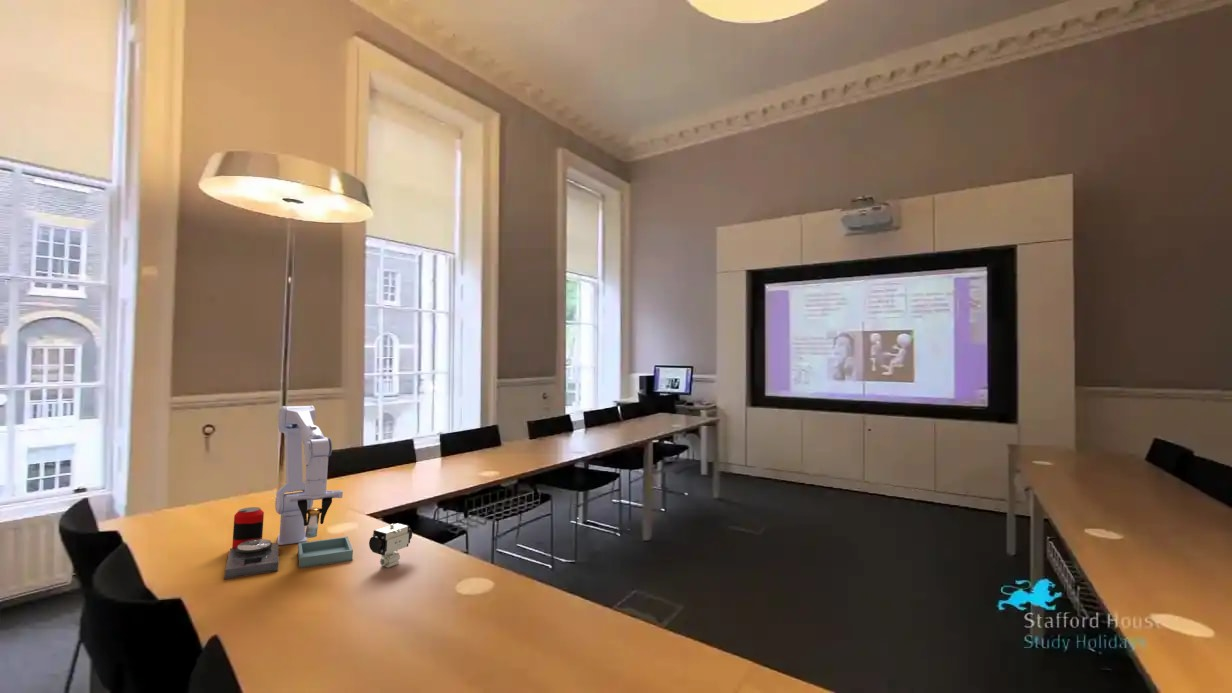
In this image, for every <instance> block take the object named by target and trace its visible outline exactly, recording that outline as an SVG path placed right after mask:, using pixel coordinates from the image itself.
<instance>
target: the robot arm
mask: <svg viewBox="0 0 1232 693" xmlns="http://www.w3.org/2000/svg"><path fill="white" fill-rule="evenodd" d="M316 415H317V413H316V408H315V406H314V405H313V404H312V405H293V406H292V405H287V406H286V405H281V407H280V408H279V409H278V415H277V417H278V419H277V423H278V425H277V426H278V427H277V428H278V432H279V433H282V434H284V439H285V474H286V475H285V477H286V478H285V480H286V481H285V482H286V483H285V484H284V485H282V486H281V487H280V488H278V490H277V491H276V493H275V496H276V497H275V505H274V506H275V511H276V514H278V515H280V523H279V534H278V535H277V542H278V546H283V545H291V544H298V543H303V542H308V539H307V537H305V534H306V527H307V519H308V514H307V509H309V508H313V506H314V505H313V504H314V501H319V500H321V509H322V511H321V513H320V517H319V521H320V522H319V523H320V525H323V524H324V522H325V518H326V515H327V512H328V511H329V508H330V507H331V505H332V504H333V499H342V498H343V492H344V491H343V490H342V489H341V490H327V484H328V468H329V467H328V466H329V457H330V456H332V451H333V442H332V440H331V437H327V436H324V433H323V432H322V430H321V428H320V427H319V426H318V425H315V424H314V422H315V420H316V417H317V416H316ZM303 446H304V447H303ZM303 454H304V464H305V479H304V478H303V472H304V471H303Z"/></svg>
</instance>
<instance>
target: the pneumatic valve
mask: <svg viewBox="0 0 1232 693" xmlns="http://www.w3.org/2000/svg"><path fill="white" fill-rule="evenodd" d="M412 537H413V530H412V529H411V527H410V525H408V524H404V523H400V522H397V523H390V525H388V526H385V527H384V526H383V527H382V528H378V529H375V530H373V534H372V536H371V538H369V543H368V545H369V549H370V551H371V552H372V553H374V554H377V555H381V558H380V560H379V564H380V566H382V567H386V568H388V569H389V568H392V567H394V566H397V565H398V564H399V563H400V558H401V555H400V552H398V551H399V550H401V549H404V548H407V547H409V544H411V539H412Z"/></svg>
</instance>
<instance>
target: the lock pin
mask: <svg viewBox="0 0 1232 693" xmlns="http://www.w3.org/2000/svg"><path fill="white" fill-rule="evenodd" d="M321 511H322V507H311V508H309V509H307V526H306V528H305V532H306V534H305V537H306V538H308V539H312V538H316V537H317V535H318V527H319V523H320V522H319V521H320V515H321Z"/></svg>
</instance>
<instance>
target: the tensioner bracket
mask: <svg viewBox="0 0 1232 693" xmlns="http://www.w3.org/2000/svg"><path fill="white" fill-rule="evenodd" d="M224 569H225V570H224V571H225V572H224V580H229V579H235V578H240V577H241V578H242V577H248V576H254V575H259V574H266V573H273V572H278V571H279V545H278V541H277V542H276V541H275V542H272V541H271V540H269V539H267V538H262V539H253V540H250V541H246V542H243V543H241V544H239V545H238V546H237V548H232V547H231V548H230V549H229V552H228V557H227V561H226V565H225V568H224Z"/></svg>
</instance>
